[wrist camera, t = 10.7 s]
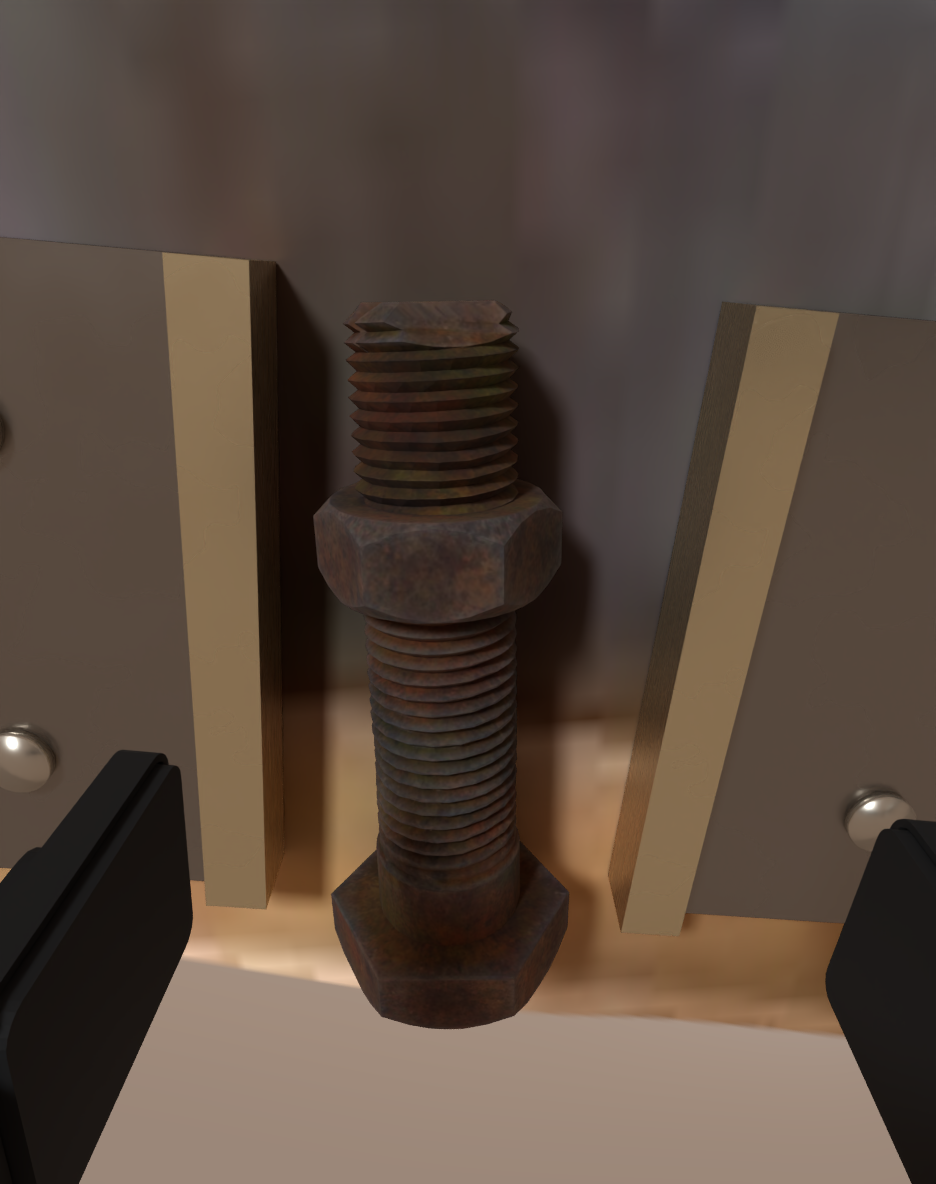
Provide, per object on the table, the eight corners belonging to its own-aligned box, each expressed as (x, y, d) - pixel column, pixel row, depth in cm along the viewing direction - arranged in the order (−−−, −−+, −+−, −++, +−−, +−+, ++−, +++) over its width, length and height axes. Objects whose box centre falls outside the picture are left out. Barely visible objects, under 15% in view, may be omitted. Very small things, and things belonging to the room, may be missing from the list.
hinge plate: (1224, 346, 16) (1324, 356, 14) (975, 899, 21) (1023, 958, 20) (-265, 212, 15) (-370, 205, 13) (-104, 827, 21) (-161, 881, 19)
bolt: (471, 300, 17) (479, 840, 23) (249, 304, 15) (317, 904, 20) (647, 297, 12) (604, 981, 18) (361, 302, 10) (410, 1085, 16)
